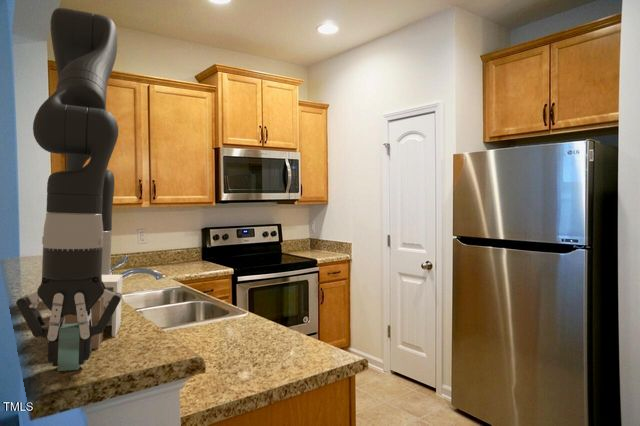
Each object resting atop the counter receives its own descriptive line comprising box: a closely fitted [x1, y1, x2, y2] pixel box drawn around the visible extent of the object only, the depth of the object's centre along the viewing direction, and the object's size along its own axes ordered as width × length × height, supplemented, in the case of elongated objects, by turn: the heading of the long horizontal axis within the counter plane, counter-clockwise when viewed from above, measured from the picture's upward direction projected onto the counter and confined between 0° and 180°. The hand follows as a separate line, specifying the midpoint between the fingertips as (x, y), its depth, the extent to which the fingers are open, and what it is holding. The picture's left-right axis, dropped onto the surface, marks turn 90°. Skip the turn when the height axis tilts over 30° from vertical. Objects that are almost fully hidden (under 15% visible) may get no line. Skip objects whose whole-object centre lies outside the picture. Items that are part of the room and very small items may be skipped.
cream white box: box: [63, 274, 123, 338], centre depth 81 cm, size 9×9×10 cm
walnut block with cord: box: [57, 296, 104, 372], centre depth 68 cm, size 15×5×8 cm, turn 19°
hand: (69, 363), depth 62 cm, fingers closed on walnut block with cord, 2 cm apart
